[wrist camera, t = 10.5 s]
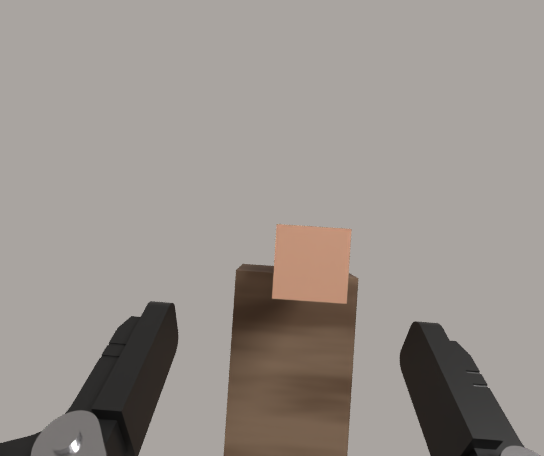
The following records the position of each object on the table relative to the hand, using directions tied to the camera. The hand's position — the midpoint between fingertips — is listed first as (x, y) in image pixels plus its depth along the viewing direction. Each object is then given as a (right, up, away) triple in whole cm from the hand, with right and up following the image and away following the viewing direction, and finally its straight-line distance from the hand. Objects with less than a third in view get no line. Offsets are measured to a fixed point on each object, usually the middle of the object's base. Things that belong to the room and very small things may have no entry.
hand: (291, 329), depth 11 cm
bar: (+1, 0, +12) cm, 12 cm away
